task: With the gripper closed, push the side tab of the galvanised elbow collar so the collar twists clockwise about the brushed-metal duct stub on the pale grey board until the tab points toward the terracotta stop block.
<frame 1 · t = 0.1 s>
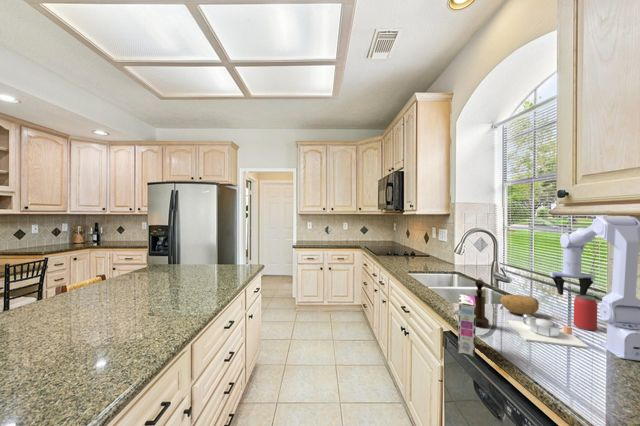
hand: (571, 295, 115), 10 cm above the counter, fingers open, 7 cm apart
potato: (519, 314, 121), on the counter
pepper mill: (479, 324, 109), on the counter
candy bar box: (466, 348, 91), on the counter
elbow collar: (538, 324, 104), point 3 cm above the counter, hinge at 0.0°
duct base: (544, 333, 101), on the counter
beer can: (585, 328, 107), on the counter
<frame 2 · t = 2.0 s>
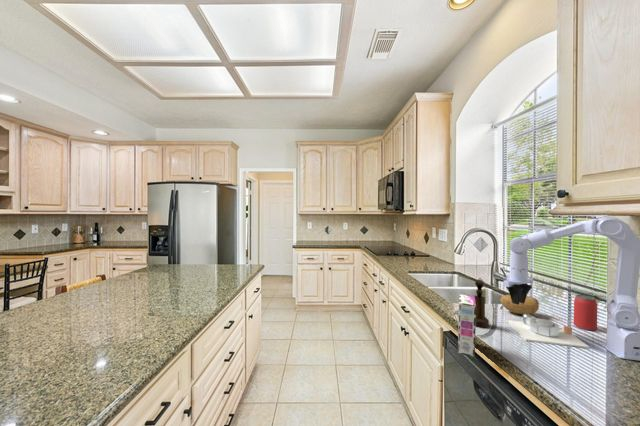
hand: (518, 303, 106), 10 cm above the counter, fingers open, 3 cm apart
nothing on the counter moved.
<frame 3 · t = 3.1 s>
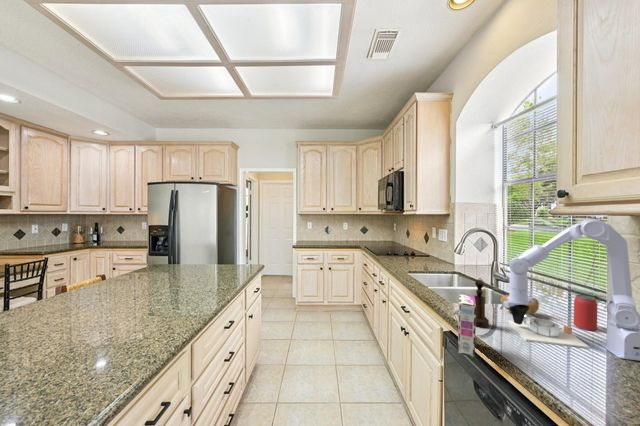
hand: (518, 323, 106), 2 cm above the counter, fingers closed
nothing on the counter moved.
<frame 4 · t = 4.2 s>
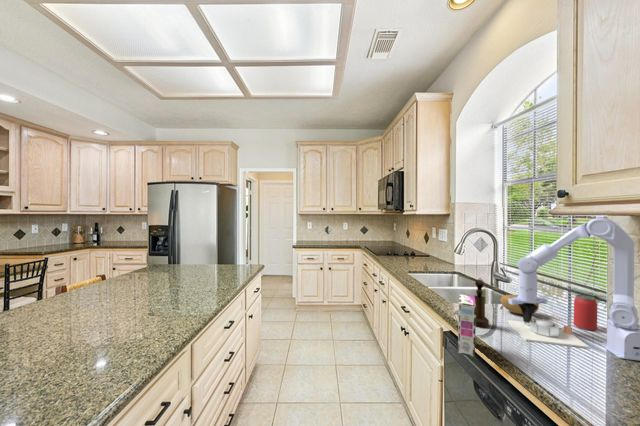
hand: (527, 321, 107), 2 cm above the counter, fingers closed, pressing on elbow collar
elbow collar: (538, 324, 104), point 3 cm above the counter, hinge at 1.0°, touching gripper
everything else where it was.
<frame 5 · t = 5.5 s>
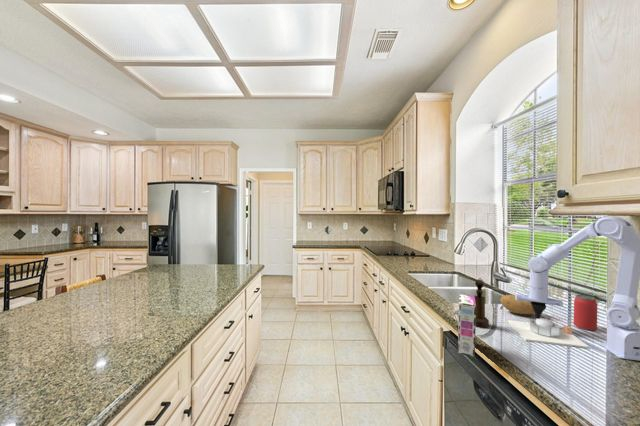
hand: (537, 321, 107), 2 cm above the counter, fingers closed, pressing on elbow collar
elbow collar: (544, 324, 103), point 3 cm above the counter, hinge at 42.1°, touching gripper
everything else where it was.
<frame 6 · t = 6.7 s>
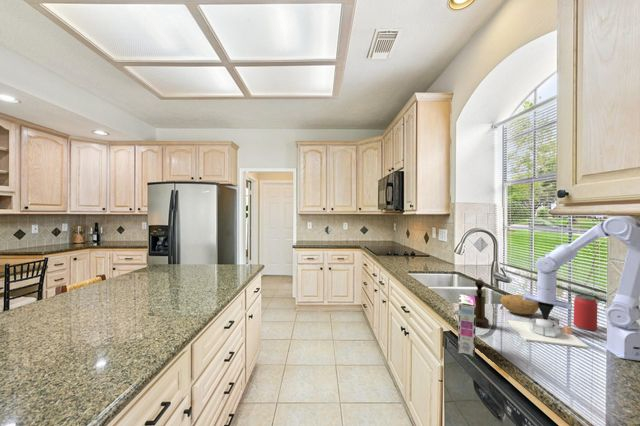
hand: (545, 322, 106), 2 cm above the counter, fingers closed, pressing on elbow collar
elbow collar: (547, 325, 102), point 3 cm above the counter, hinge at 65.7°, touching gripper
everything else where it was.
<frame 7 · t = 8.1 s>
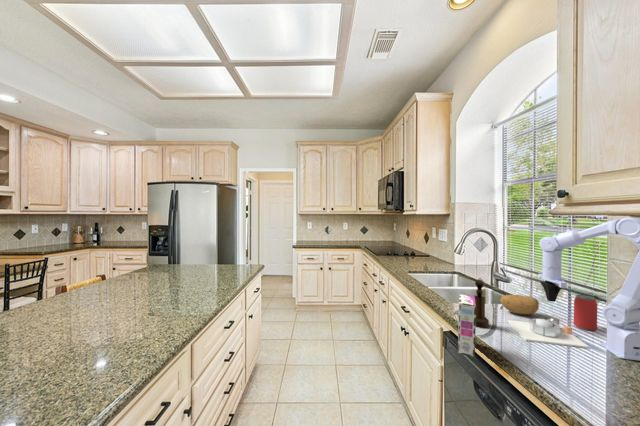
hand: (551, 300, 108), 10 cm above the counter, fingers closed
elbow collar: (547, 325, 102), point 3 cm above the counter, hinge at 65.9°
everything else where it was.
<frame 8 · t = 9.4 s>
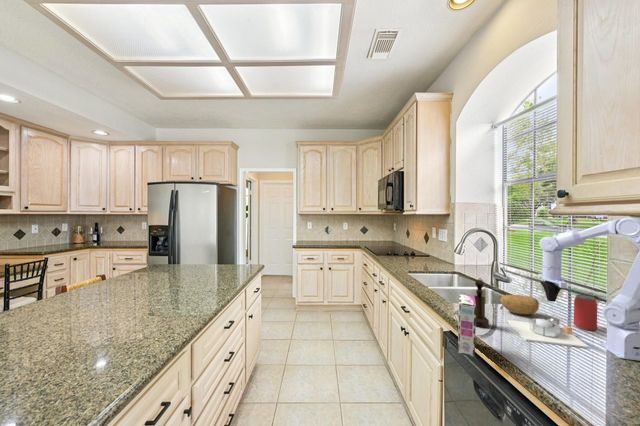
hand: (551, 300, 108), 10 cm above the counter, fingers closed
nothing on the counter moved.
at the end: elbow collar at +66° (first picture: +0°) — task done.
